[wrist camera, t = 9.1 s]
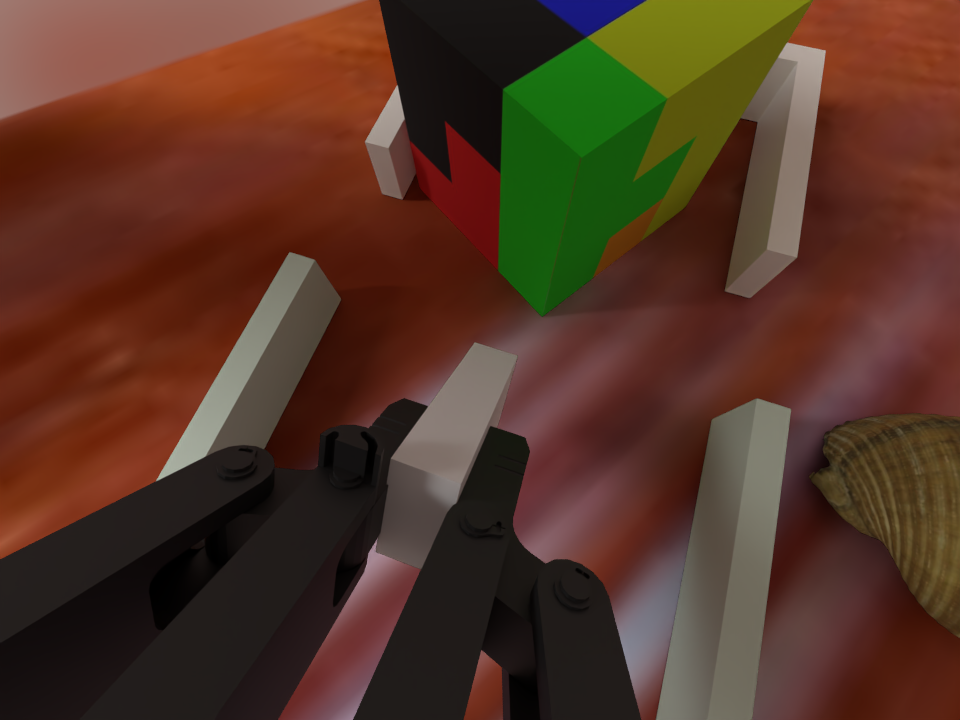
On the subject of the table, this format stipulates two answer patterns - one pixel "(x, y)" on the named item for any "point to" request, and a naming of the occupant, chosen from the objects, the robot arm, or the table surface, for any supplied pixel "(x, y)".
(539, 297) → the puzzle toy
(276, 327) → the channel
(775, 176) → the bay
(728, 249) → the table surface
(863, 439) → the seashell
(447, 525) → the robot arm
